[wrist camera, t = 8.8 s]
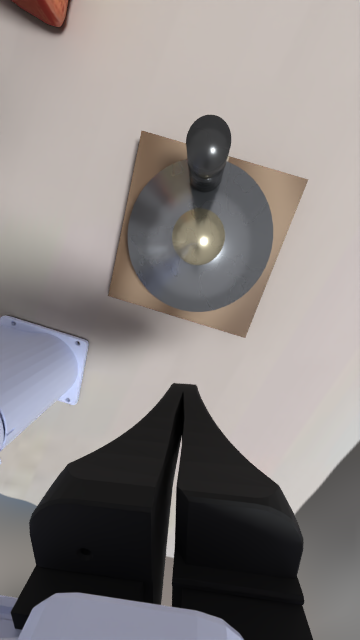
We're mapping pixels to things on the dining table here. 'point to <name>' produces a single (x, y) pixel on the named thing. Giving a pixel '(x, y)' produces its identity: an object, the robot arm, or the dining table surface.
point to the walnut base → (283, 204)
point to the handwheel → (201, 226)
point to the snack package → (45, 10)
